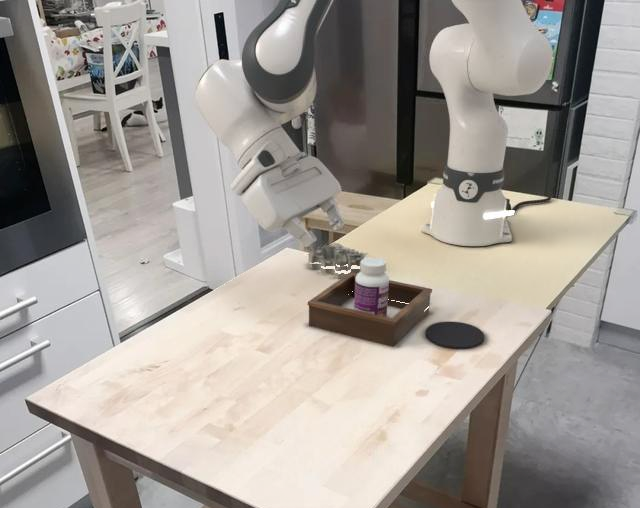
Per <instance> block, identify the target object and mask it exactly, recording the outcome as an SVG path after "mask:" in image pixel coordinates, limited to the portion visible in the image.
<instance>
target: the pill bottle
mask: <svg viewBox="0 0 640 508" xmlns="http://www.w3.org/2000/svg"><path fill="white" fill-rule="evenodd" d="M360 270H361V272H359V273H358V274H357V275H356V278H355V298H354V297H353V299H354V303H353V309H354V310H358V311H362V312H367V313H371V314H375V315H380V316H384V317H388V315H387V314H388V306H389V305H388V290H389V280H390V277H389V275H388V274H387V273H386V270H387V261H386V260H385V259H383V258H379V257H364V259H362V260H361V262H360Z"/></svg>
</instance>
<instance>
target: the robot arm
mask: <svg viewBox="0 0 640 508" xmlns="http://www.w3.org/2000/svg"><path fill="white" fill-rule="evenodd" d="M333 2H334V0H279V1H278V3H277V4H276V6H275V7H274V9H273V10H272V11H271V13H269V14H268V16H266V17H265V18H264V19H263V20H262V21H261V22H260V23H259V24H258V25H256V27H254V29H252V31H251V32H250V33H249V35H248V36H247V38H246V40H245V43H244V45H243V48H242V51H241V59H232V60H231V59H223V58H222V59H218V60H216V61H215V62H214V63H212V64H211V65H209V67H207V68H206V70H205V71H204V73H203V74H202V75H201V77H200V78H199V80H198V83H197V86H196V88H195V102H196V105H197V107H198V110H199V112H200V114H201V115H202V117H203V118H204V121H205V122H206V123H207V125H208V126H209V128H210V130H211V131H212V132H213V133H214V135H215V136H216V138H217V139H218V140H219V142H220V143H221V144H222V145H224V146H225V147H226V148H227V149H228V150H229V151H230V152H231V154H232V155H233V157H234V159H235V162H236V164H237V166H238V167H239V168H240V169H241V171H240V172H239V173H238V174H237V175H236V177H235V178H234V180H233V181H232V182H231V183H230V189H231V190H232V191H233V193H234V194H235V195H236V196H238V197H241V200H242V203H243V204H244V206H245V207H246V209H247V211H248V212H249V213H250V215H251V216H252V217H253V218H254V220H255V221H256V222H257V223H258V225H259V226H260V227H261V228H262V230H263V229H264V230H265V231H267V232H268V233H274V232H275V231H278V230H279V229H280V230H281V229H282V228H283V229H284V230H285V231H286V232H287V233H288V234H289V235H291V236H293V237H294V238H295V239H298V240H299V242H300V243H301V244H302V245H303V247H304V248H305V247H309V248H310V247H311V246H312V245H313V244H314V243H316V242H317V239H318V238H317V236H316V235H315V233H314V232H313V231H312V230H311V229H310V230H308V229H307V228H305V227H304V226H303V225H302V224H301V220H300V219H301V218H303V217H305V216H307V215H309V214H311V213H312V212H315V211H317V210H319V209H321V210H322V211H323V213H326V215H327V217H328V219H329V222H328V224H329V226H330V227H331V228H332V230H333V231H338V230H340V229H342V227H343V226H345V224H346V221H345V219H344V218H343V217H342V216H341V213H340V209H339V207H338V206H339V205H338V203H337V201H336V200H335V199H336V198H337V197H338V196H339V195H341V193H342V186H341V184H340V182H339V180H338V179H337V178H336V177H335V176H334V175H333V174H332V172H331V170H329V169H328V167H326V165H325V164H324V163H323V161H321V160H320V159H319V158H317V157H316V156H312V155H309V154H307V153H306V152H304V151H300V149H299V148H298V146H297V145H296V144H295V143H294V142H293V140H292V138H291V137H290V135H288V133H287V132H286V131H285V129H284V127H283V125H285V124H287V123H289V122H291V121H293V120H294V119H296V118H298V117H299V116H301V115H303V114H305V112H306V111H307V110H308V109H309V108H310V107H311V106H312V104H313V103H314V101H315V98H316V95H317V90H318V89H317V86H318V85H317V84H318V83H317V76H316V75H317V73H316V69H315V53H316V52H315V50H316V49H315V48H316V40H317V36H318V33H319V31H320V28H321V26H322V24H323V22H324V20H325V18H326V17H327V15H328V12H329V10H330V8H331V6H332V5H333ZM451 2H452V4H453V6H454V7H455V8H456V9H457V10H458V11H459V12H460V13H462V14H463V16H464V17H465V19H466V20H467V23H461V24H455V25H452V26H448V27H444V28H443V29H442V30H440V31H439V32H438V33H437V34H436V36H435V37H434V39H433V41H432V43H431V47H430V50H429V57H428V59H429V66H430V71H431V72H432V73H431V74H433V77H435V78H436V80H437V81H438V83H439V85H440V87H441V89H442V92H443V95H444V97H445V101H446V106H447V110H448V117H449V138H448V139H449V141H448V152H447V153H448V154H447V163H446V164H445V165H444V169H443V173H442V176H443V179H442V183H443V184H442V185H443V186H442V187H441V188H440V189H438V190H437V191H436V192H434V196H433V201H432V202H431V206H430V207H431V208H432V210H431V217H430V221H428V222H427V223H425V224H424V225H422V229H421V232H422V233H425V234H427V235H430V236H432V237H433V238H435V239H436V240H438V241H440V242H442V243H446V244H450V245H455V246H463V247H485V246H491V245H494V244H495V245H496V244H499V243H500V244H501V243H510V242H512V240H513V239H512V232H511V229H510V225H509V223H508V216H513V215H514V214H515V212H516V211H517V209H518V208H520V207H521V206H525V205H532V204H534V205H535V204H543V203H547V202H549V201H550V200H551V199H552V197H553V190H552V189H549V190H548V196H547V198H541V199H533V200H524V201H520V202H517V204H515V205H514V206H513V207H512V205H511V203H510V202H511V199H510V198H507V197H506V196H505V195H504V193H503V191H502V188H503V187H504V180H505V168H504V161H505V157H506V156H505V155H506V150H507V149H506V148H507V141H508V136H509V127H508V124H507V122H506V120H505V119H504V118H503V116H501V114H500V113H499V111H498V109H497V107H496V104H495V100H494V95H500V96H505V97H514V96H515V97H516V96H524V95H525V96H526V95H531V94H534V93H536V92H537V91H539V90H540V89H541V88H542V87H543V85H544V84H545V83H546V81H547V80H548V78H549V76H550V73H551V70H552V67H553V62H554V61H553V59H554V58H553V57H554V56H553V49H552V45H551V43H550V41H549V39H548V38H547V37H546V36H545V35H544V34H542V32H540V30H539V29H537V27H536V25H534V23H533V22H532V21H533V20H532V19H531V18H530V17H529V14H528V12H527V11H526V8H525V6H524V4H523V1H522V0H451Z"/></svg>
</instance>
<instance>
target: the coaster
mask: <svg viewBox="0 0 640 508" xmlns="http://www.w3.org/2000/svg"><path fill="white" fill-rule="evenodd" d="M425 337H426V339H427V340H428V341H429V342H430V343H432V344H434V345H436V346H438V347H442V348H446V349H453V350H468V349H473V348H476V347H478V346H480V345H481V344H483V343H484V341H485V334H484V332H483V331H482V330H481V329H480V328H479V327H476V326H474V325H473V324H469V323H465V322H461V321H439V322H435V323H432V324H431V325H428V327H427V328H426V329H425Z"/></svg>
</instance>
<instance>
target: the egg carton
mask: <svg viewBox="0 0 640 508" xmlns="http://www.w3.org/2000/svg"><path fill="white" fill-rule="evenodd" d="M304 249H307V251H309V252H308V268H309V269H310V270H315V269H317V270H320V272H321V273H322V274H326V275H328V274H330V275H333V278H334V279H336V280H340V279H341V278H343V277H344V276H346V275H347V274H344V273H341V274H338V273H335V270H336V271H341V270H346V271H348V270H350V269H351V266H352V265H357V266H360V262H361V260H362V259H365V258H366V257H367V255H368V254H369V253H368V252H365V253H363V252H359V251H356V249H355V248H353V249H351V248H349V247H346V246H344V245H342V244H341V243H338V242H334V243H330V244H327V245H326V244H324V245H323V246H322V247H321V246H318V247H317V249H316V250H315V249H314V248H313V247H311V246H309V247H305V246H304ZM309 262H311V263H314V262H319V263H321V264H309ZM336 264H337V265H340V267H337V266H336ZM346 264H348V267H347V266H344V265H346ZM321 266H324V267H326V266H335V270H334V269H323V268H321ZM351 272H353V273H359V272H361V270H360V269H351Z"/></svg>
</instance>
